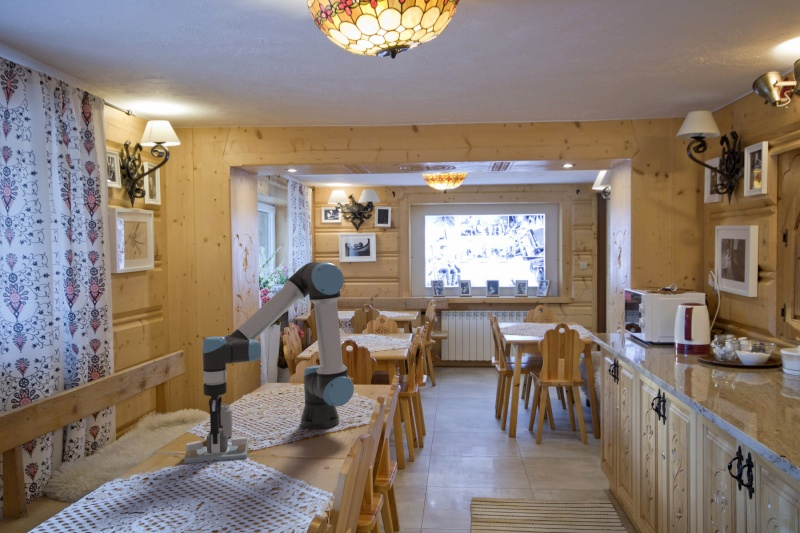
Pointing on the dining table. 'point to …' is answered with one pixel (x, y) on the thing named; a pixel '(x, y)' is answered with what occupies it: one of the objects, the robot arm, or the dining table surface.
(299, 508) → the dining table surface
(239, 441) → the rig
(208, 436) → the stepped grey block
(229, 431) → the can
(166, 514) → the dining table surface
